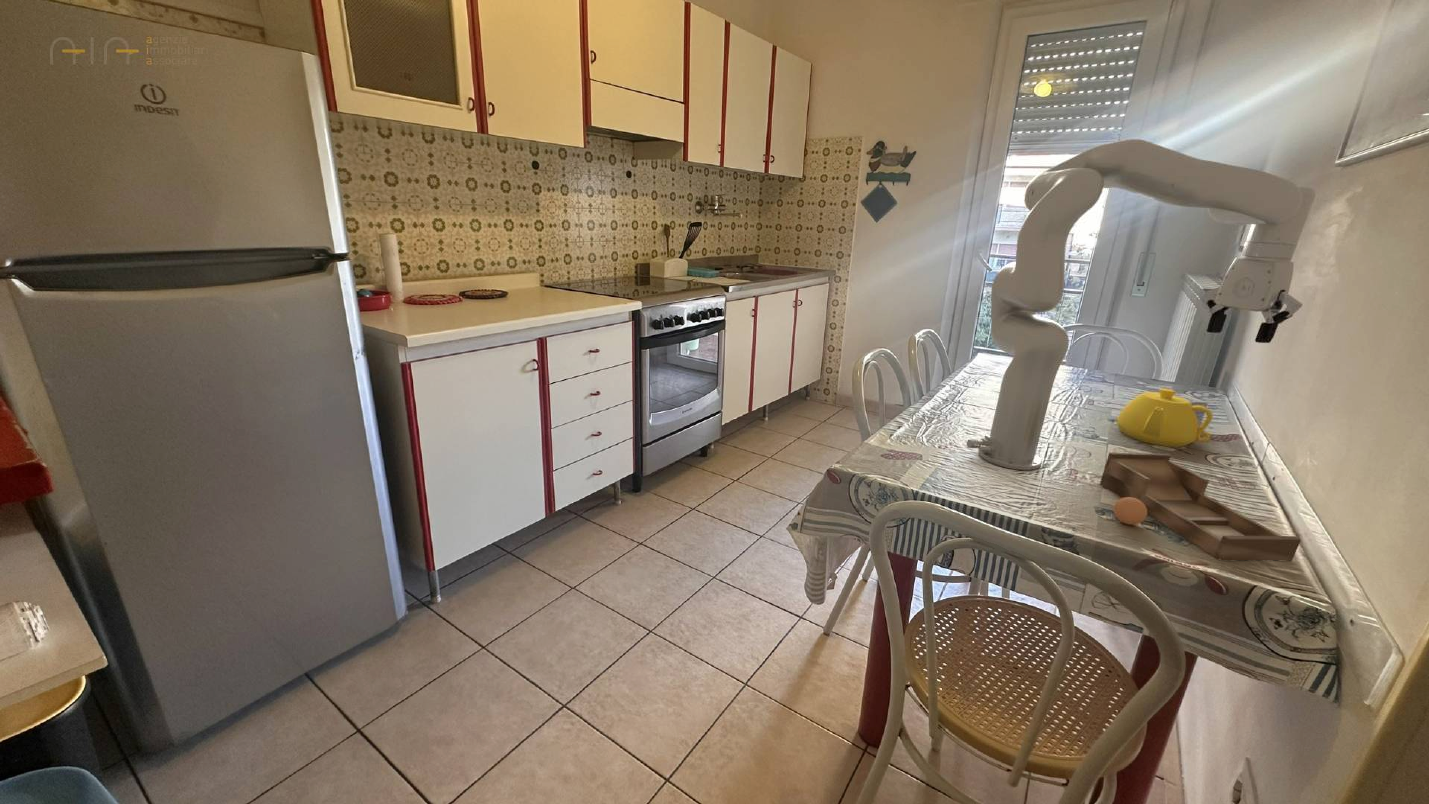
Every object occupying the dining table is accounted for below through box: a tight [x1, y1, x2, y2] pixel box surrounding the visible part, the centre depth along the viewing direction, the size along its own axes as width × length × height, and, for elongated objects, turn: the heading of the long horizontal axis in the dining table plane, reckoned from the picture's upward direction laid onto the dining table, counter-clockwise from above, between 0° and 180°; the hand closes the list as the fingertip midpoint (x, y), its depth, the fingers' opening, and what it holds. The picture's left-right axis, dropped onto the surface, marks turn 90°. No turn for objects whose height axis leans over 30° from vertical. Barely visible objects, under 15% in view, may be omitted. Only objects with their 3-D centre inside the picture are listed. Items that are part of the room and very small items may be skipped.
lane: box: [1099, 452, 1302, 561], centre depth 102 cm, size 27×13×7 cm, turn 4°
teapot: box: [1116, 387, 1213, 448], centre depth 140 cm, size 20×19×13 cm
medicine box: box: [1174, 392, 1208, 429], centre depth 150 cm, size 8×4×9 cm, turn 179°
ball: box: [1113, 497, 1148, 526], centre depth 99 cm, size 5×5×5 cm
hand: (1237, 337), depth 117 cm, fingers open, 9 cm apart
